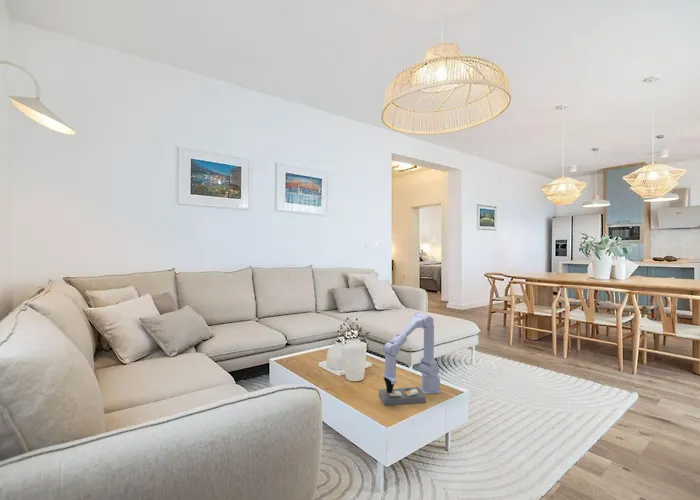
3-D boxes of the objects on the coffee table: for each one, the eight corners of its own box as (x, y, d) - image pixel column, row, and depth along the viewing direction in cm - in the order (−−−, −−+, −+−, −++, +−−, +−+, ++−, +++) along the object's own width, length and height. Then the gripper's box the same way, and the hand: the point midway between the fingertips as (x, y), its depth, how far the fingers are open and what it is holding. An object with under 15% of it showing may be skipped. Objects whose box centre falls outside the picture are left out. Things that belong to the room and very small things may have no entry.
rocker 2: (416, 390, 180) (415, 388, 180) (418, 393, 176) (417, 391, 176) (405, 393, 179) (404, 391, 179) (407, 396, 175) (407, 394, 175)
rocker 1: (399, 393, 178) (399, 391, 178) (401, 396, 175) (401, 394, 175) (388, 392, 177) (388, 390, 177) (390, 395, 174) (390, 393, 174)
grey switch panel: (417, 392, 187) (417, 386, 187) (425, 402, 175) (425, 396, 175) (378, 394, 184) (378, 389, 184) (384, 405, 172) (384, 399, 172)
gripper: (379, 361, 182) (378, 386, 182) (386, 371, 168) (385, 399, 168) (392, 361, 183) (391, 386, 183) (400, 371, 169) (399, 398, 169)
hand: (389, 392), depth 176 cm, fingers closed, pressing on rocker 1
